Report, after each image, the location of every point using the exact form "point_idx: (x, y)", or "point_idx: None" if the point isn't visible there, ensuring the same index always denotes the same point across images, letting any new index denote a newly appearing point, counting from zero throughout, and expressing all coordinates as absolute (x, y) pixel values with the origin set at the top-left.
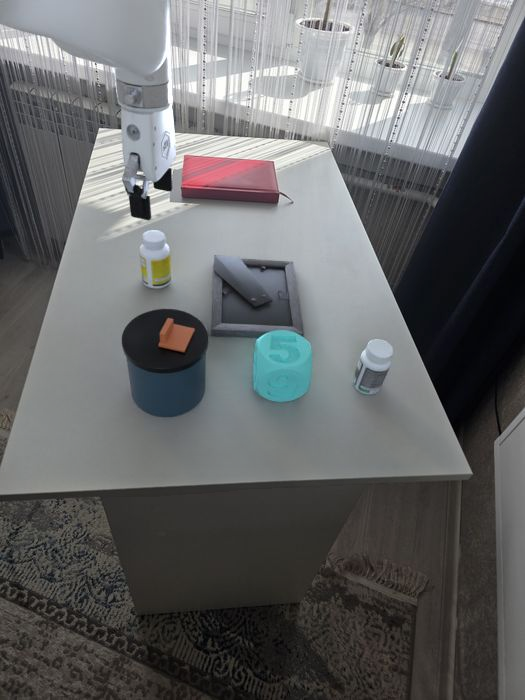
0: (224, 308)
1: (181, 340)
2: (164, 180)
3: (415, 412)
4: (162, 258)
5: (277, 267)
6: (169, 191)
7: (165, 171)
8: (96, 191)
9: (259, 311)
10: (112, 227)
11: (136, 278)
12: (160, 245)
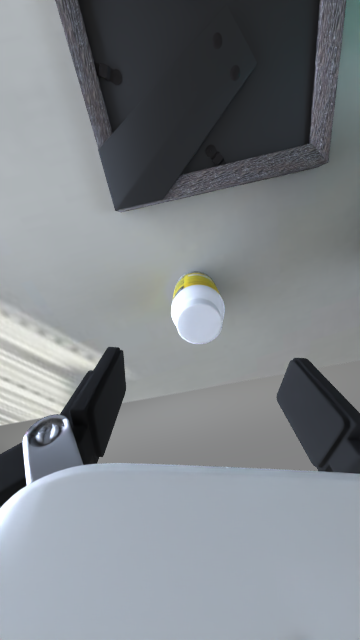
0: (261, 149)
1: None
2: (113, 388)
3: None
4: (217, 292)
5: (85, 23)
6: (120, 350)
7: (288, 483)
8: (40, 409)
9: (264, 49)
10: None
11: None
12: (214, 305)
